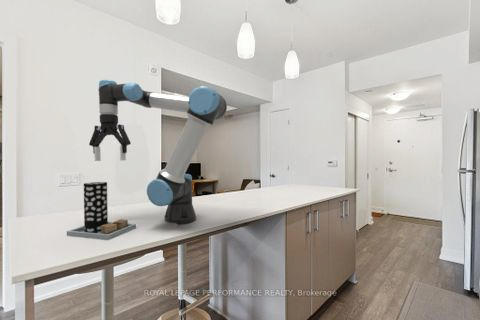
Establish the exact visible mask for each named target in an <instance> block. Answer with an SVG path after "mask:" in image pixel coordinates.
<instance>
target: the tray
mask: <svg viewBox="0 0 480 320" xmlns="http://www.w3.org/2000/svg"><path fill="white" fill-rule="evenodd" d="M113 222H114V221H108V224H110V223H112V224H113ZM136 228H137V224H136V223H128V227H125V228H123V229H120V230H118V231H115V232H113V233H110V234H101V233H89V232H84V225H82V226H80V227H76V228H73V229H70V230H67V231H66V237H74V238H85V239H91V240H92V239H93V240H101V241H102V240H104V241H109V240H112V239H114V238H116V237H119V236H121V235H124V234H126V233H128V232H131V231H132V230H135V229H136Z"/></svg>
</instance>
